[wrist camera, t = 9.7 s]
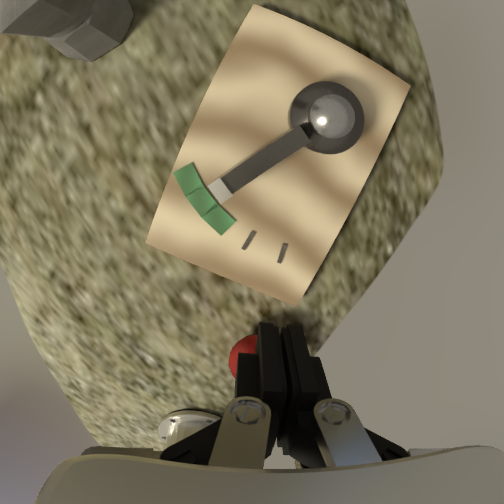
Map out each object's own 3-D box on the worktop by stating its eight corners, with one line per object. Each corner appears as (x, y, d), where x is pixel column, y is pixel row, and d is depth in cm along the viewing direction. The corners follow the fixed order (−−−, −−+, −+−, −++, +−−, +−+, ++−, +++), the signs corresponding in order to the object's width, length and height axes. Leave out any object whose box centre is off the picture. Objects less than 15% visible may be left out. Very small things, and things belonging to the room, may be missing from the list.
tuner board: (294, 299, 35) (296, 307, 33) (149, 238, 32) (144, 243, 31) (404, 87, 26) (411, 85, 25) (253, 9, 24) (253, 3, 22)
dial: (330, 73, 25) (343, 64, 21) (368, 131, 27) (385, 131, 23) (197, 160, 28) (189, 163, 24) (238, 215, 30) (236, 227, 26)
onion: (289, 345, 37) (296, 392, 29) (250, 366, 38) (249, 413, 31) (261, 312, 35) (263, 357, 28) (221, 336, 36) (214, 383, 29)
